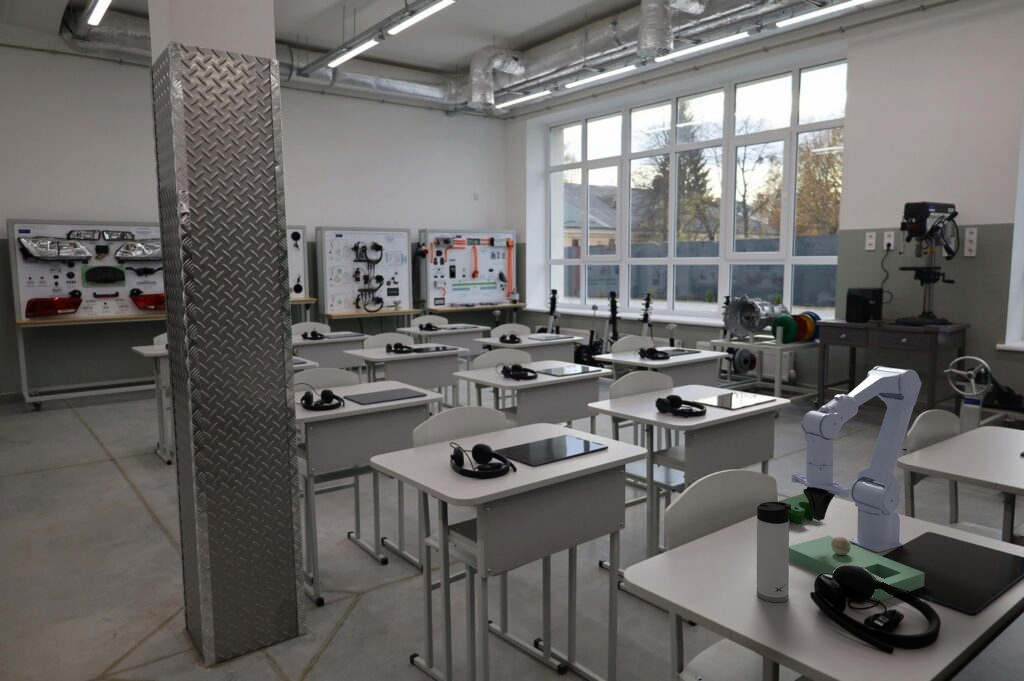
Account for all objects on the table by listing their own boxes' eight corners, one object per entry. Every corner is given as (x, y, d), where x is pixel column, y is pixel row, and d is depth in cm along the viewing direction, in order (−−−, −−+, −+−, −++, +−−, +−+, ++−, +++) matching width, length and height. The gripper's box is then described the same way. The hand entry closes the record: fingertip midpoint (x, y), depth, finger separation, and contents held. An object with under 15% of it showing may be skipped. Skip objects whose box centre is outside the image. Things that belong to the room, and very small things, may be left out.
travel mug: (787, 606, 137) (788, 510, 135) (753, 598, 141) (753, 505, 139) (792, 593, 142) (793, 501, 141) (760, 586, 146) (760, 496, 144)
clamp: (794, 540, 182) (793, 515, 178) (775, 528, 187) (774, 504, 182) (823, 516, 186) (822, 491, 182) (804, 505, 191) (803, 481, 187)
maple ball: (839, 549, 157) (839, 532, 156) (854, 555, 153) (854, 538, 153) (827, 553, 155) (827, 536, 155) (842, 559, 151) (842, 542, 151)
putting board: (786, 559, 160) (786, 546, 159) (828, 547, 166) (828, 535, 165) (880, 601, 138) (880, 587, 138) (924, 586, 144) (924, 572, 144)
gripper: (782, 458, 163) (782, 512, 164) (834, 472, 150) (833, 532, 151) (803, 454, 166) (803, 507, 167) (856, 468, 153) (855, 526, 154)
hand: (818, 519), depth 159 cm, fingers closed
